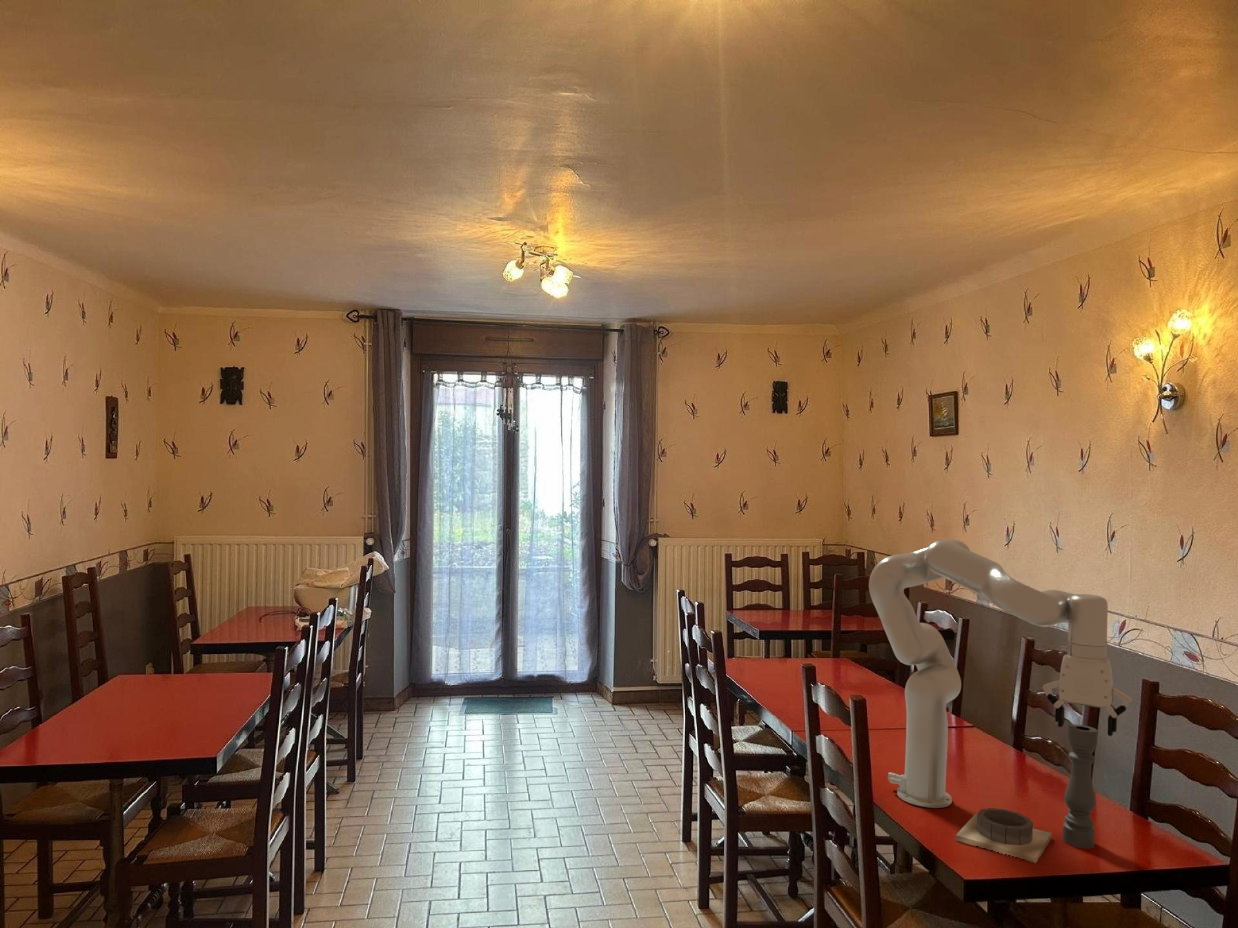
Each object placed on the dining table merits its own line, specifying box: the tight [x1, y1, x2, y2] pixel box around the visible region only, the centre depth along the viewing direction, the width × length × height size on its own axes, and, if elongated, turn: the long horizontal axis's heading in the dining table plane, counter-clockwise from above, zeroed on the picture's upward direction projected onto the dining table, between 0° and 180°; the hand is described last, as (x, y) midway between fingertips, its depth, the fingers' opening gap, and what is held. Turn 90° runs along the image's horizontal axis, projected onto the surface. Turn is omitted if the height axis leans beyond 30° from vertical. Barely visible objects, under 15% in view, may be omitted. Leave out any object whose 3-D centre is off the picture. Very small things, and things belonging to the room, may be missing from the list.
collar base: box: [955, 807, 1053, 864], centre depth 189 cm, size 16×16×5 cm
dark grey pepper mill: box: [1062, 724, 1099, 850], centre depth 189 cm, size 6×6×25 cm
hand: (1085, 729), depth 189 cm, fingers open, 9 cm apart
